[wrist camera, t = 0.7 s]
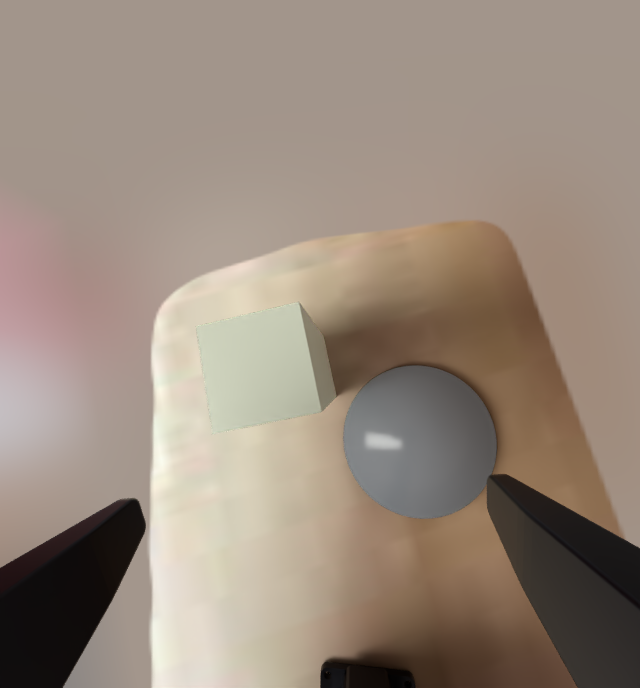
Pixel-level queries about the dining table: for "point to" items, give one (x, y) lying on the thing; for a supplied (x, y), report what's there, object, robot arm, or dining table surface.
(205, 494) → the dining table surface
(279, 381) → the block
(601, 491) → the dining table surface
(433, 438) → the slate coaster
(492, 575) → the dining table surface
